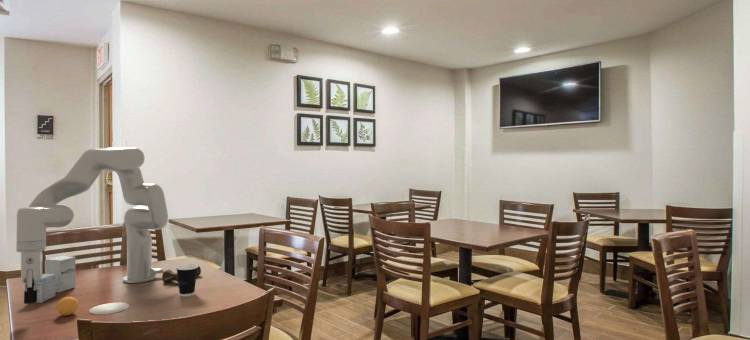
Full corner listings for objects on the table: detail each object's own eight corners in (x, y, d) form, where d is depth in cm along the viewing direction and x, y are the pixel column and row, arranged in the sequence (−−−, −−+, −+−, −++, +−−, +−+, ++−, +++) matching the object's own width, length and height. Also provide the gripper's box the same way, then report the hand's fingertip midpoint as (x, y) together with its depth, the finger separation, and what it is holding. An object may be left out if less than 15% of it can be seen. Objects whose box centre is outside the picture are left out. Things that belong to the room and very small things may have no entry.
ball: (78, 310, 153) (78, 293, 153) (78, 315, 148) (78, 298, 148) (57, 313, 150) (57, 296, 150) (56, 319, 145) (56, 301, 145)
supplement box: (59, 292, 173) (59, 260, 172) (44, 291, 174) (43, 259, 174) (76, 287, 180) (76, 256, 180) (60, 286, 181) (60, 255, 181)
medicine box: (43, 296, 168) (43, 273, 168) (55, 296, 168) (55, 273, 168) (29, 303, 160) (28, 279, 160) (42, 303, 161) (42, 279, 160)
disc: (127, 301, 164) (127, 300, 164) (130, 310, 154) (130, 310, 154) (88, 306, 157) (88, 306, 157) (89, 317, 147) (89, 316, 147)
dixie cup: (197, 290, 178) (197, 263, 178) (198, 296, 171) (198, 267, 170) (175, 293, 174) (175, 265, 174) (176, 299, 167) (176, 269, 167)
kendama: (206, 277, 200) (173, 288, 181) (188, 276, 203) (154, 286, 184) (206, 264, 200) (173, 273, 181) (188, 263, 203) (154, 272, 184)
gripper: (44, 248, 139) (43, 307, 139) (47, 241, 151) (46, 295, 151) (13, 250, 135) (12, 311, 135) (19, 243, 147) (18, 298, 147)
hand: (30, 302), depth 143 cm, fingers closed
